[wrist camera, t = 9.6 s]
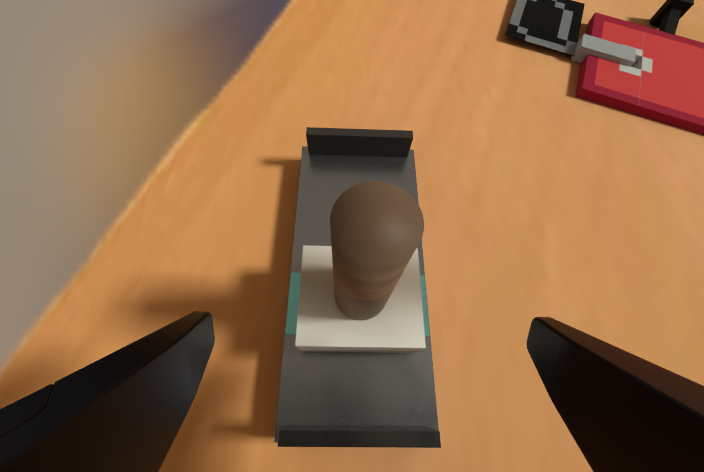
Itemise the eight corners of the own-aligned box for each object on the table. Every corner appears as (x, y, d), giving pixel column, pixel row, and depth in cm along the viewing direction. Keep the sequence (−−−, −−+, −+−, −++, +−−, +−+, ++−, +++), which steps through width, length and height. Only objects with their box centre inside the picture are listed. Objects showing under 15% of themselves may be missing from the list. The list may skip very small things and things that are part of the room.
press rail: (431, 438, 17) (452, 450, 14) (279, 437, 17) (265, 449, 14) (409, 162, 25) (419, 130, 22) (304, 159, 25) (299, 126, 21)
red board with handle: (520, -14, 36) (490, 75, 30) (534, -44, 33) (504, 46, 27) (819, 69, 32) (849, 189, 26) (861, 43, 29) (905, 168, 24)
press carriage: (414, 353, 17) (501, 313, 8) (301, 351, 17) (255, 309, 8) (408, 264, 19) (471, 151, 10) (307, 262, 19) (277, 145, 10)
